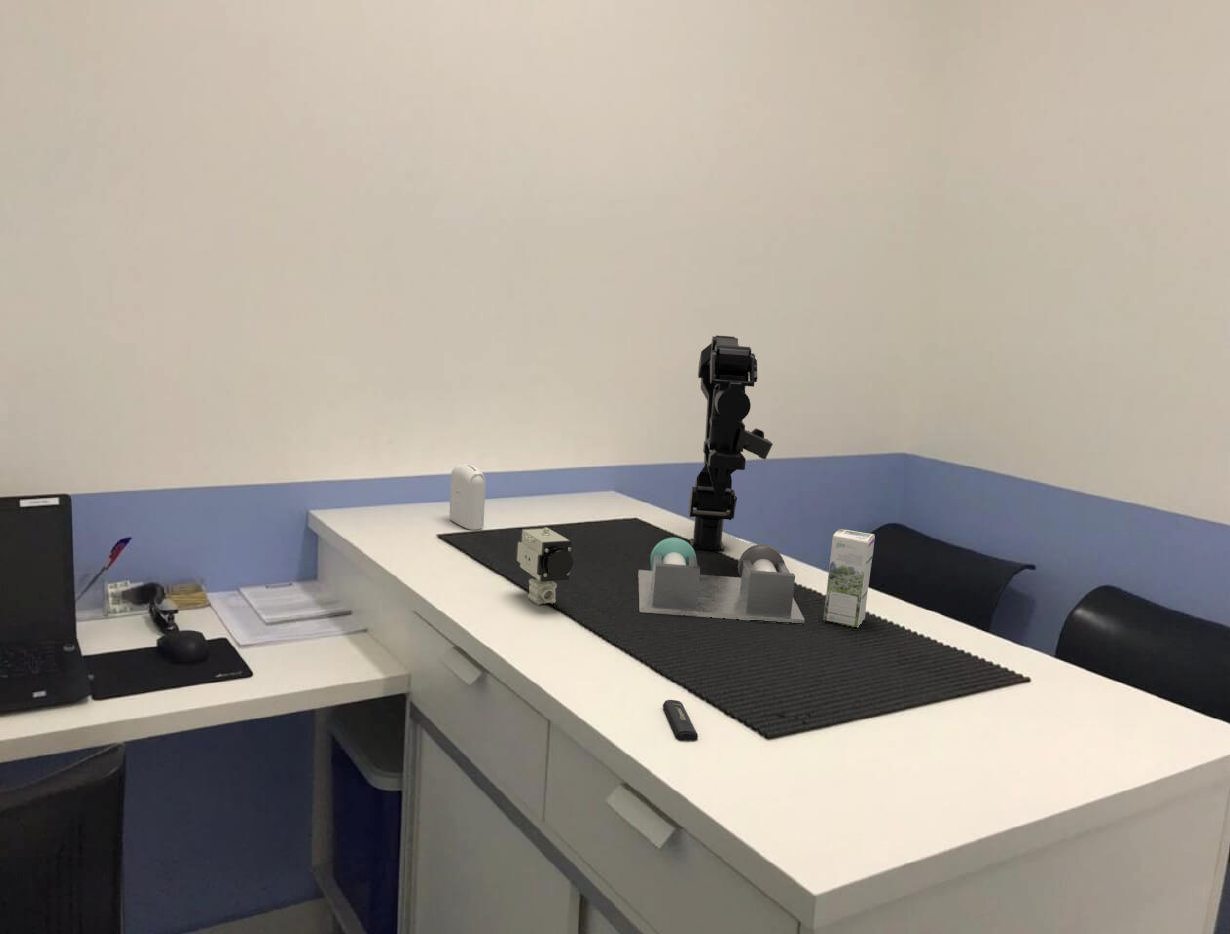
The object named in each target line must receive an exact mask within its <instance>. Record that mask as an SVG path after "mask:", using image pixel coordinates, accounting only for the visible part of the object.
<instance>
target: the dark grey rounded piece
mask: <svg viewBox="0 0 1230 934" xmlns="http://www.w3.org/2000/svg"><path fill="white" fill-rule="evenodd" d="M743 560H747V561H751V563H752V566H753V568H754V570H755V571H767V572H777V565H778V563H785V564H786V562H785V560H784V558H783V557H782V554H781V553H780V552H779V551H778V550H777V549H776V548H774V547H773V546H772V545H768V544H765V543H764V544H763V543H762V544H755V545H752V546H750V547H748V548H747V549H745V550H744V551H743V553H742V554H741V555H740V557H739V559H738V562H737V563H738V564H737V568H738V569H737V570H738V571H737V572H738V574H739V578H741V577H742V567H743Z"/></svg>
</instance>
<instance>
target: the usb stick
mask: <svg viewBox="0 0 1230 934" xmlns="http://www.w3.org/2000/svg"><path fill="white" fill-rule="evenodd" d="M662 708H663V711H664V713H665V715H666V717H667V720H668V722H669V725H670V727H671V729H672V731H673V733H674V736H675V738H676V739H677V740H678V741H681V742H684V741H685V742H686V741H689V742H690V741H696V740H698V738H699V734H698V733H697V730H696V727H694V724H693V722H692V720H691V719H690V716H689V714H688V713H687V710H686V708H685V705H684V704H683V702H681V701H680V700H675V699H667V700H665V701H664V702H663V704H662Z"/></svg>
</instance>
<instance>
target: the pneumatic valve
mask: <svg viewBox="0 0 1230 934" xmlns="http://www.w3.org/2000/svg"><path fill="white" fill-rule="evenodd" d="M515 547H516V549H515V560H516V561H517V562H518V567H519V568H521V570H523V571H525V572H527V573H528V574H529V575H530V576H532V577H534V578H532V577H531V578H529V580H528V584H529V585H528V589H529V590H528V592H529V593H528V595H527V598H528V599H529V600H530V601H531V602H533V603H534V604H535V605H537V606H540V605H542V604H549V603H550V604H551V605H553V603H554V604H555V603H556V599H557V598H556V596H557V594H556V588H557V586H558V584H557V583H556V582H559V581H569V580H570V572H571V571H572V570H573V565H574V558H573V555H572V541H571V540H570V539H567V538H566V537H564V536H563V535H561V534H559V533H557V532H556V531H553V530H552V529H550V528H549V527H537V528H536V527H533V528H521V529H520V537H519V540H516V546H515Z"/></svg>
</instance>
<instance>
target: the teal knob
mask: <svg viewBox="0 0 1230 934" xmlns="http://www.w3.org/2000/svg"><path fill="white" fill-rule="evenodd" d="M654 553H655V554H661V558H662V564H675V565H688V556H694V557H696V560H697V559H698V558H697V556H696V551H695V548H692V546H691V543H689V542H688V541H686V540H684V539H682V538H679V537H668V538H665V539H662V540H661V541H659V542H658V543H657V544H655V546H654V548H653V549H652V551H651V553H650V571H652V570H653V559H654ZM697 561H698V560H697Z"/></svg>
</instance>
